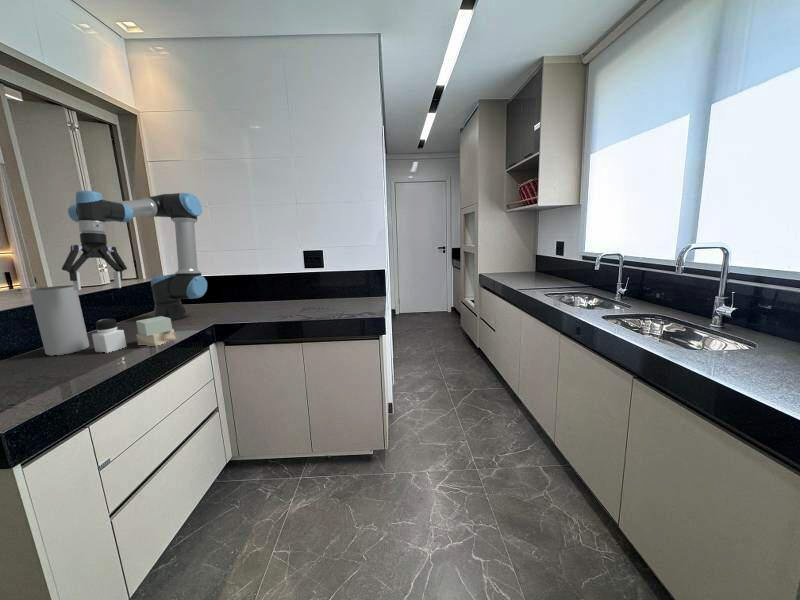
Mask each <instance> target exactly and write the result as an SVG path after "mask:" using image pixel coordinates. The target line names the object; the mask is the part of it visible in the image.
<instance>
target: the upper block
mask: <svg viewBox="0 0 800 600" xmlns="http://www.w3.org/2000/svg"><path fill="white" fill-rule="evenodd" d="M135 323H136V327H137V334H139V333H140V334H143V335H145V336H150V335H154V334H158V333H163V332H167V331H172V329H173V325H172V320H171V318H167V317H163V316H159V317H154V318H153V317H150V318H149V317H148V318H145V319H139V320H136V321H135Z"/></svg>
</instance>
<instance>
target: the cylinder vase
mask: <svg viewBox="0 0 800 600" xmlns="http://www.w3.org/2000/svg"><path fill="white" fill-rule="evenodd" d="M29 294H30V298H31V301H32V305H33V310H34V312H35V317H36V321H37V322H36V323H37V325H38V329H39V334H40V336H41V341H42V345H43V349H44V353H45V355H47V356H51V357H53V356H54V355H57V356H63V355H64V354H65V355H70V354H74V352H75V353H78V352H81V350H82V351H83V350H84V351H85V350H86V349H88V348H89V347H90V341H89V338H88V333H87V328H86V324H85V320H84V316H83V311H82V307H81V302H80V297H79V293H78V290H74V286H73V284H72V285H71V284H69V285H57V286H56V285H55V286H46V287H38V288H33V289H29ZM65 355H64V356H65ZM54 357H55V356H54Z"/></svg>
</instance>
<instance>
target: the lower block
mask: <svg viewBox="0 0 800 600" xmlns="http://www.w3.org/2000/svg"><path fill="white" fill-rule="evenodd" d="M175 339H176V332H175V329H174V328H172V331H167V332H163V333H158V334H154V335H150V336H145V335H143V334H140V333H137V334H136V340H137V346H138V345H147V346H146V347H150V346H157V345H160V346H162V345H161V344H163V345H165V344H167V343H166V342H168V343H170V342H169V341H171V342H173V341H172V340H174V341H176V340H177V339H176V340H175ZM164 343H165V344H164ZM157 347H158V346H157Z"/></svg>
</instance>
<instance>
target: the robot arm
mask: <svg viewBox="0 0 800 600" xmlns="http://www.w3.org/2000/svg"><path fill="white" fill-rule="evenodd" d="M202 213H203V208H202V204H201V201H200V200H199V198H198V197H197V196H196V195H195V194H193V193H190V192H180V193H179V192H177V193H176V192H175V193H163V194H162V193H161V194H157V195H153V196H147V197H146V196H144V197H141V198H140V199H135V200H134V199H133V200H132V199H131V200H118V201H110V200H105V199H104V198H103V194H102V193H101V192H98V191H95V190H94V191H93V190H79V191H78V190H77V191H76V193H75V204H72V205H70V206H69V207H68V209H67V214H68V216H69V218H70V219H71V220H72V221H73V222H76V223H78V231H79V232H80V234H79V238H80V239H79V240H80V243H81V245H78V244H72V245H70V251H69V253H68V255H67V256H66V257H67V258H66V259H65V261H64V263H63V265H62V266H61V270H62V271H64V272H65V271H66V272H67V273H69V280H70V281H71V282H72V285H73V286H74V290H77V291H82V288H81V287H82V284H81V278H80V277H81V276H80V275H81V274H80V271H78V270H79V269H80V268H81V267H82V266H83V264H85V262H86V261H87V260H88V259H89V258H90V259H93V258H95V259H102V260H104V261H105V262H106V264H107V265H109V266H110V268H112V270H114V271H113V273H112V274H113V284H114V288H115V289H121V288H122V281H121V280H123V272H124V271H127V270H128V267H127V265H126V264H125V262H124V261H123V259H122V258H121V256H120V254H119V253H118V250H117V247H116V246H107V244H108V241H107V235H106V234H105V233H107V232H106V224H105V223H106V222H118V223H129V222H131V221H132V219H133V218H135V217H139V218H140V217H148V218H159V217H160V218H170V220H171V221H172V222H173V223H174V232H175V244H176V258H177V267H178V268H177V271H176V272H175V273H171V274H167V275H161V276H154V277H152V278H151V279H150V287H151V291H152V298H153V301H154V309H153V310H154V311H153V314H152V318H154V317H159V316H163V317H167V318H171V321H175V320H179V319H184V318H186V317H187V316H188V313H187V311H186V309H185V307H184V305H183V304H182V301H181V299H183V300H186V299H190V300H193V299H199V298H202V297H204V296H205V294H206V292H207V290H208V281H207V280H206V278H205V277H204V276H202V272H201V271H200V270H199V268H198V258H197V244H196V243H197V242H196V229H195V223H197V222H198V217H199V216H201V214H202ZM80 251H82V253H81V255H80V256H79V258H77V256H78V255H79V252H80ZM107 252H109V254H110V255H109V254H108V253H107ZM76 259H77V260H76ZM75 260H76V261H75Z"/></svg>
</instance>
